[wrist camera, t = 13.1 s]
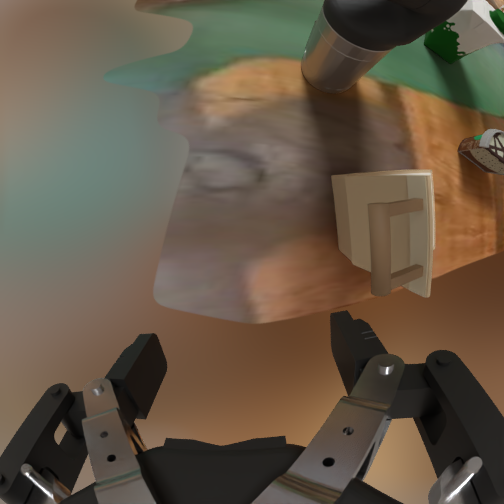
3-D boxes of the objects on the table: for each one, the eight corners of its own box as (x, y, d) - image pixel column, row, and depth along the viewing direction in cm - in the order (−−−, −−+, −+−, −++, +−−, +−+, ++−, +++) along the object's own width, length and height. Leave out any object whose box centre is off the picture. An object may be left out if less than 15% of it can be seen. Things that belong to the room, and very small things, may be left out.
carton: (330, 175, 40) (346, 175, 33) (406, 169, 40) (432, 169, 32) (338, 249, 43) (354, 264, 36) (410, 238, 43) (435, 249, 35)
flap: (347, 176, 32) (300, 182, 31) (430, 175, 20) (377, 179, 18) (355, 263, 35) (311, 276, 34) (429, 296, 23) (380, 320, 21)
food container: (492, 150, 37) (524, 150, 27) (488, 175, 38) (521, 178, 29) (457, 120, 36) (489, 114, 27) (452, 147, 38) (486, 145, 28)
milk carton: (453, 69, 33) (516, 44, 14) (418, 44, 32) (476, 4, 13) (456, 43, 31) (511, 15, 12) (423, 19, 30) (474, -21, 11)
